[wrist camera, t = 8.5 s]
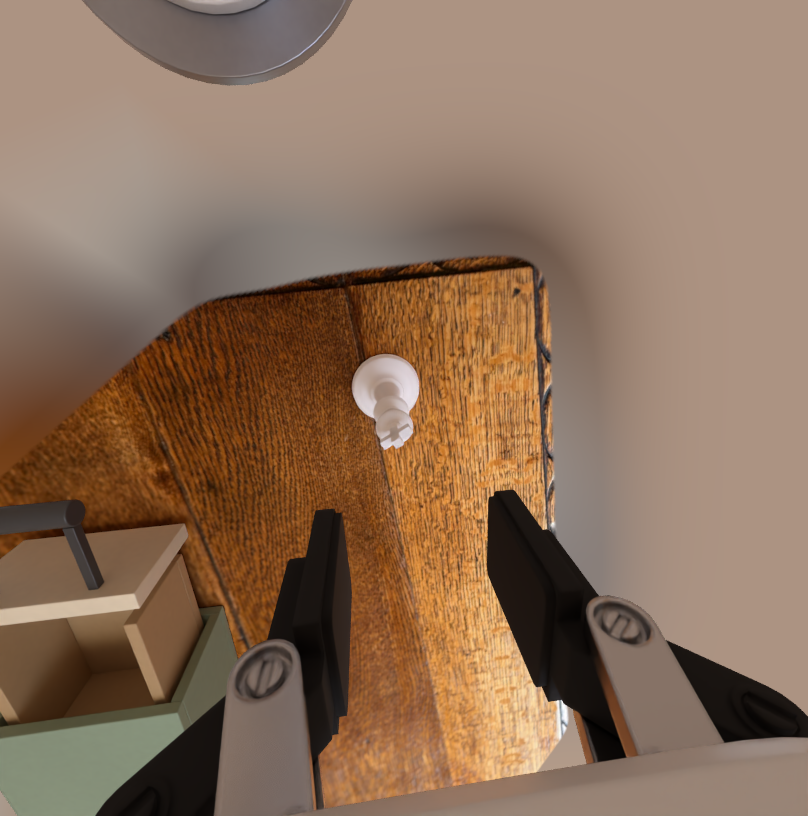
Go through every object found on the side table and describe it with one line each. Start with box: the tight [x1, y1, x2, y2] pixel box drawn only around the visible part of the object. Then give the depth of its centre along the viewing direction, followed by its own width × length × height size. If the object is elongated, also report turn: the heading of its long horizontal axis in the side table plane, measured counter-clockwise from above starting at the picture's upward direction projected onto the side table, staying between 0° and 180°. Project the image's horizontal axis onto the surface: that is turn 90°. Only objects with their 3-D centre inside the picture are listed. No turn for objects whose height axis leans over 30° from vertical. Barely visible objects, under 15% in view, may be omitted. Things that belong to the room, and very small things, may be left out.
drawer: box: [0, 500, 204, 726], centre depth 26 cm, size 19×11×7 cm, turn 3°
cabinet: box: [0, 606, 238, 816], centre depth 30 cm, size 15×13×9 cm
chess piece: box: [352, 354, 419, 450], centre depth 23 cm, size 5×5×10 cm
